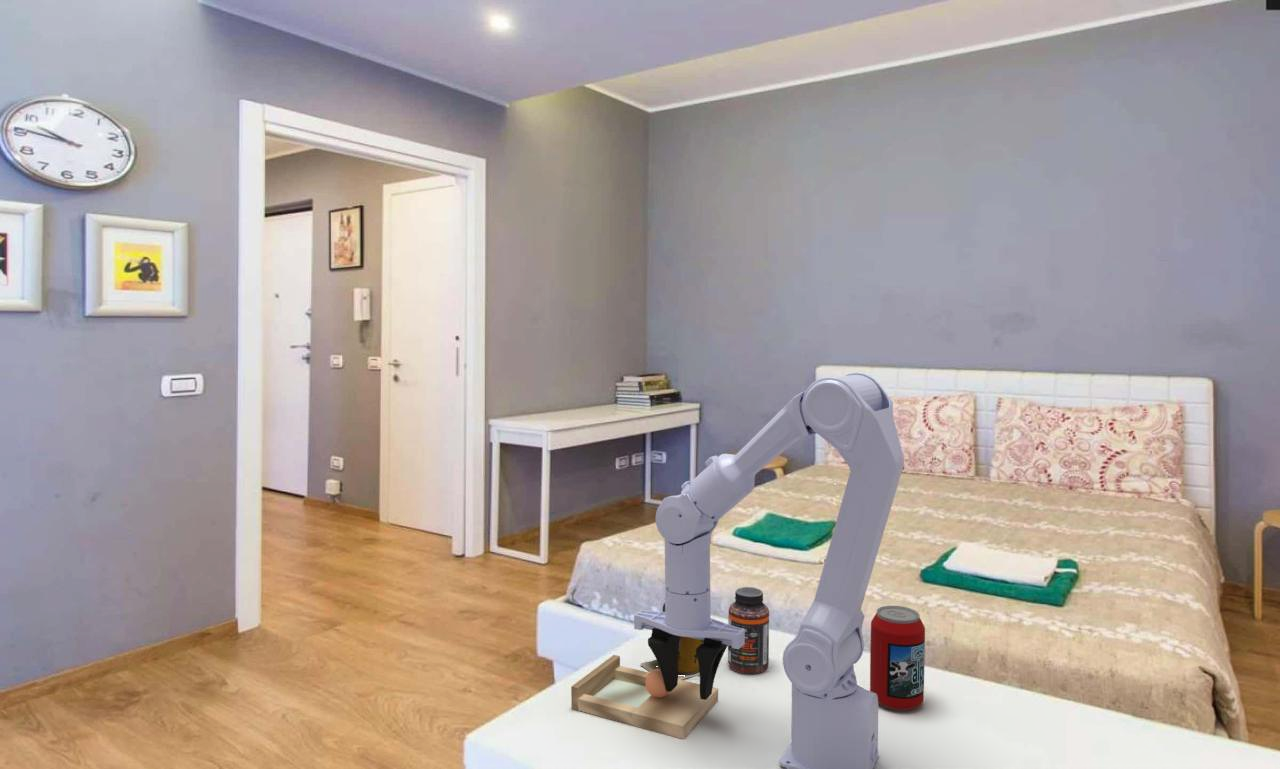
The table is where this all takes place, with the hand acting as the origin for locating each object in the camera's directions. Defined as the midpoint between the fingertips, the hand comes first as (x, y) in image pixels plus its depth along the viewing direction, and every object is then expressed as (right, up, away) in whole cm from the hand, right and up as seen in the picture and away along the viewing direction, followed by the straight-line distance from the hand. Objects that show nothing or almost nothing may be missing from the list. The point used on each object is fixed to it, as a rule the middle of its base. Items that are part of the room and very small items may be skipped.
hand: (688, 692), depth 97 cm
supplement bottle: (+10, -2, +14) cm, 17 cm away
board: (-5, -3, +3) cm, 7 cm away
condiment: (-1, -2, +14) cm, 14 cm away
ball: (-4, 0, +2) cm, 4 cm away
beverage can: (+28, -3, +4) cm, 28 cm away
